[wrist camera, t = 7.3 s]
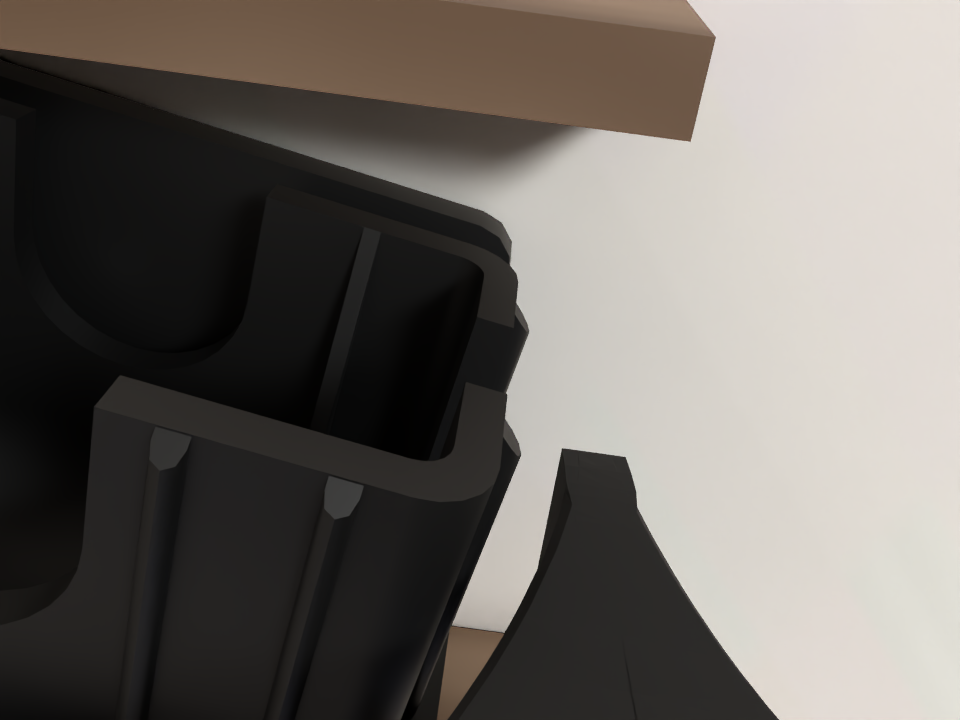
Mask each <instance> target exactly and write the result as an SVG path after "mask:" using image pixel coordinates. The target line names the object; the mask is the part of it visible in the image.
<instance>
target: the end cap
mask: <svg viewBox="0 0 960 720" xmlns="http://www.w3.org/2000/svg"><path fill="white" fill-rule="evenodd" d="M511 244H512V241H511V239H510V238H509V236H508V234H507V232H506V230H505V228H504V226H503V224H502V223H501V222H500V221H498V220H496V219H495V218H493V217H492V216H490V215H488V214H487V213H485V212H484V211H481V210H478V209H474V208H471V207H468V206H465V205H462V204H458V203H455V202H452V201H449V200H446V199H443V198H439V197H436V196H433V195H430V194H427V193H423V192H420V191H417V190H414V189H411V188H407V187H404V186H401V185H398V184H395V183H391V182H388V181H385V180H382V179H379V178H375V177H372V176H369V175H366V174H363V173H360V172H356V171H353V170H350V169H347V168H344V167H340V166H337V165H334V164H331V163H328V162H324V161H321V160H318V159H315V158H312V157H308V156H305V155H302V154H299V153H296V152H293V151H289V150H286V149H283V148H280V147H277V146H273V145H270V144H267V143H264V142H261V141H257V140H254V139H251V138H248V137H245V136H241V135H238V134H235V133H232V132H229V131H226V130H222V129H219V128H216V127H213V126H210V125H206V124H203V123H200V122H197V121H194V120H190V119H187V118H184V117H181V116H178V115H174V114H171V113H168V112H165V111H162V110H158V109H155V108H152V107H149V106H146V105H143V104H139V103H136V102H133V101H130V100H127V99H123V98H120V97H117V96H114V95H111V94H107V93H104V92H101V91H98V90H95V89H91V88H88V87H85V86H82V85H79V84H76V83H72V82H69V81H66V80H63V79H60V78H56V77H53V76H50V75H47V74H44V73H40V72H37V71H34V70H31V69H28V68H24V67H21V66H18V65H15V64H12V63H9V62H5V61H2V60H0V720H437V715H438V708H439V701H440V694H441V687H442V680H443V673H444V666H445V658H446V651H447V644H448V637H449V630H450V628H451V626H452V623H453V621H454V618H455V616H456V613H457V611H458V608H459V606H460V604H461V601H462V599H463V596H464V594H465V591H466V589H467V586H468V584H469V581H470V579H471V577H472V574H473V572H474V569H475V567H476V564H477V562H478V559H479V557H480V555H481V552H482V550H483V547H484V545H485V542H486V540H487V537H488V535H489V532H490V530H491V528H492V525H493V523H494V520H495V518H496V515H497V513H498V510H499V508H500V506H501V503H502V501H503V498H504V496H505V493H506V491H507V488H508V486H509V483H510V481H511V479H512V476H513V474H514V471H515V469H516V466H517V464H518V461H519V459H520V457H521V451H520V447H519V443H518V441H517V439H516V437H515V435H514V433H513V431H512V429H511V428H510V426H509V425H508V423H507V422H506V420H505V412H506V402H507V394H506V392H507V389H508V386H509V384H510V381H511V378H512V376H513V373H514V370H515V368H516V365H517V363H518V360H519V357H520V355H521V352H522V349H523V347H524V344H525V341H526V339H527V336H528V334H529V329H528V325H527V322H526V320H525V318H524V316H523V314H522V312H521V310H520V309H519V307H518V305H517V304H516V299H517V288H518V279H517V275H516V273H515V272H514V270H513V269H512V268H511V266H510V261H511Z"/></svg>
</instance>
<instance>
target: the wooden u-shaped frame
mask: <svg viewBox="0 0 960 720" xmlns="http://www.w3.org/2000/svg"><path fill="white" fill-rule="evenodd" d="M715 38H716V37H715V36H714V34H713V33H712V32H711V31H710V29H709V28H708V27H707V26H706V24H705V23H704V22H703V21H702V19H701V18H700V17H699V16H698V14H697V13H696V12H695V11H694V9H693V8H692V7H691V6H690V4H689V3H688V2H687V1H686V0H0V49H7V50H15V51H22V52H29V53H37V54H44V55H52V56H59V57H66V58H74V59H81V60H89V61H96V62H104V63H111V64H118V65H126V66H133V67H141V68H148V69H156V70H163V71H170V72H178V73H185V74H193V75H200V76H207V77H215V78H222V79H230V80H237V81H245V82H252V83H259V84H267V85H274V86H282V87H289V88H297V89H304V90H311V91H319V92H326V93H334V94H341V95H349V96H356V97H363V98H371V99H378V100H386V101H393V102H400V103H408V104H415V105H423V106H430V107H438V108H445V109H452V110H460V111H467V112H475V113H482V114H490V115H497V116H504V117H512V118H519V119H527V120H534V121H542V122H549V123H556V124H564V125H571V126H579V127H586V128H593V129H601V130H608V131H616V132H623V133H631V134H638V135H645V136H653V137H660V138H668V139H675V140H683V141H690V142H691V138H692V134H693V129H694V125H695V121H696V117H697V113H698V109H699V104H700V100H701V96H702V92H703V88H704V84H705V79H706V75H707V71H708V67H709V63H710V59H711V55H712V50H713V46H714V42H715ZM503 635H504V633H497V632H490V631H482V630H475V629H468V628H461V627H453V626H451V628H450V630H449V637H448V644H447V651H446V658H445V666H444V673H443V680H442V687H441V694H440V701H439V708H438V715H437V720H447V719H448V718H449V717H450V715H451V714H452V713H453V711H454V710H455V708H456V707H457V706H458V704H459V703H460V701H461V700H462V698H463V697H464V696H465V694H466V693H467V691H468V690H469V688H470V687H471V685H472V684H473V682H474V681H475V679H476V678H477V676H478V675H479V673H480V672H481V670H482V669H483V667H484V666H485V664H486V663H487V661H488V660H489V658H490V656H491V655H492V653H493V651H494V650H495V648H496V647H497V645H498V643H499V642H500V640H501V638H502V637H503Z"/></svg>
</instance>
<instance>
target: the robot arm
mask: <svg viewBox="0 0 960 720" xmlns="http://www.w3.org/2000/svg"><path fill="white" fill-rule="evenodd" d="M447 720H779V719H778V718H777V717H776V716H775V715H774V713H773V712H772V711H771V710H770V709H769V708H768V706H767V705H766V704H765V703H764V701H763V700H762V699H761V698H760V696H759V695H758V694H757V692H756V691H755V690H754V689H753V687H752V686H751V685H750V684H749V682H748V681H747V680H746V679H745V677H744V676H743V675H742V674H741V672H740V671H739V670H738V668H737V667H736V666H735V664H734V663H733V661H732V660H731V659H730V657H729V656H728V655H727V653H726V652H725V651H724V649H723V648H722V646H721V645H720V644H719V642H718V641H717V639H716V638H715V636H714V635H713V633H712V632H711V631H710V629H709V628H708V626H707V625H706V623H705V622H704V620H703V619H702V617H701V616H700V614H699V613H698V611H697V610H696V608H695V607H694V605H693V604H692V602H691V601H690V599H689V597H688V596H687V594H686V593H685V591H684V589H683V588H682V586H681V585H680V583H679V581H678V580H677V578H676V576H675V575H674V573H673V571H672V569H671V568H670V566H669V564H668V563H667V561H666V559H665V558H664V556H663V554H662V552H661V551H660V549H659V547H658V546H657V544H656V542H655V540H654V538H653V537H652V535H651V533H650V531H649V529H648V527H647V525H646V523H645V522H644V520H643V518H642V516H641V514H640V512H639V510H638V508H637V499H636V490H635V486H634V482H633V478H632V475H631V472H630V469H629V466H628V463H627V460H626V457H621V456H614V455H607V454H599V453H592V452H585V451H578V450H571V449H563V448H562V452H561V457H560V462H559V466H558V471H557V476H556V481H555V486H554V491H553V496H552V501H551V506H550V511H549V516H548V520H547V525H546V530H545V535H544V540H543V545H542V550H541V555H540V560H539V565H538V569H537V572H536V574H535V576H534V578H533V580H532V582H531V584H530V586H529V588H528V590H527V592H526V594H525V596H524V598H523V600H522V602H521V604H520V606H519V608H518V610H517V612H516V614H515V615H514V617H513V619H512V621H511V623H510V625H509V626H508V628H507V630H506V631H505V633H504V635H503V637H502V638H501V640H500V642H499V643H498V645H497V647H496V648H495V650H494V651H493V653H492V655H491V656H490V658H489V660H488V661H487V663H486V664H485V666H484V667H483V669H482V670H481V672H480V673H479V675H478V676H477V678H476V679H475V681H474V682H473V684H472V685H471V687H470V688H469V690H468V691H467V693H466V694H465V696H464V697H463V698H462V700H461V701H460V703H459V704H458V706H457V707H456V708H455V710H454V711H453V713H452V714H451V715H450V717H449V718H448V719H447Z"/></svg>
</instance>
